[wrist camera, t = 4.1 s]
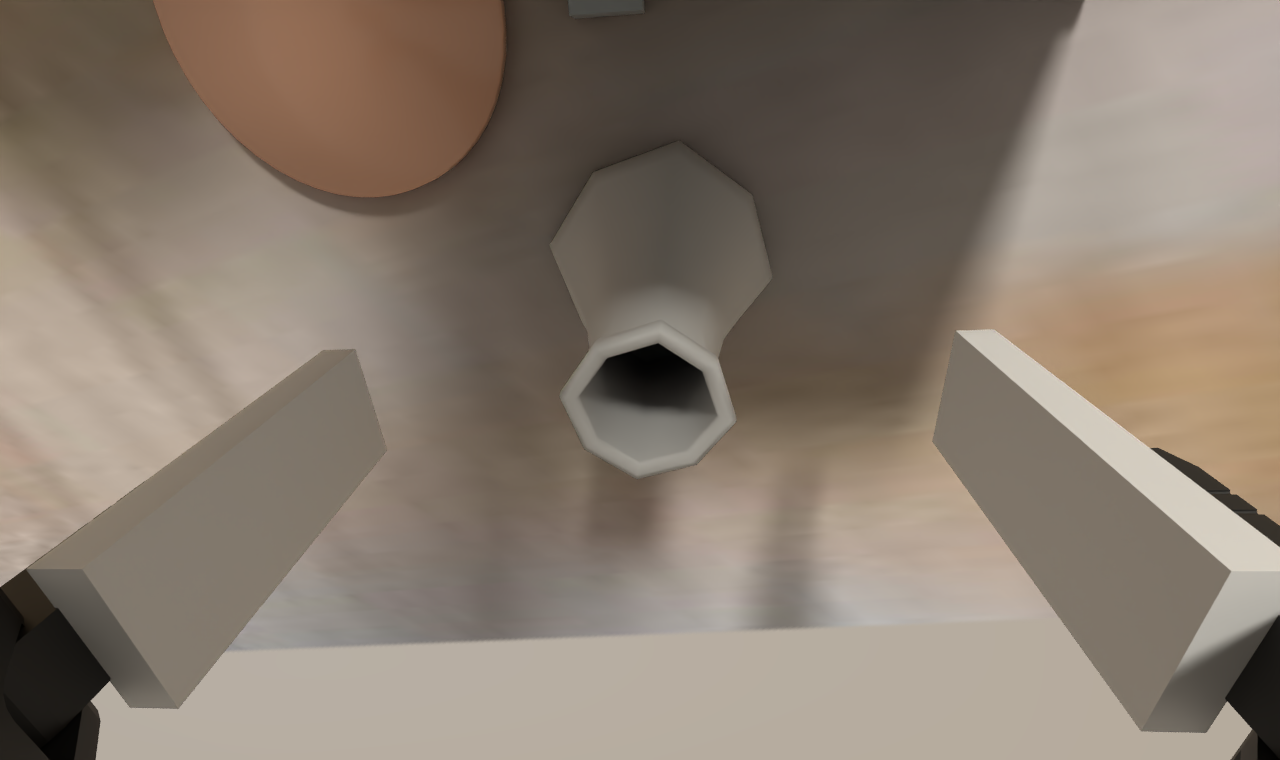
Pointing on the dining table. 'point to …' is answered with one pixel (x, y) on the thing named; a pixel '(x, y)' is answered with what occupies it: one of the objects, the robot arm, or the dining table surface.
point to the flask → (657, 305)
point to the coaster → (345, 83)
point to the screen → (604, 8)
